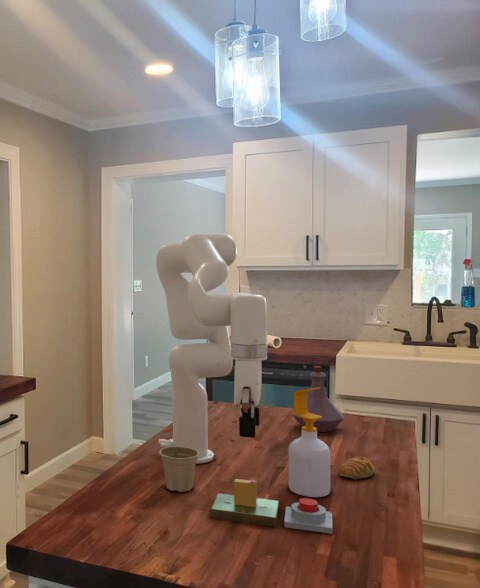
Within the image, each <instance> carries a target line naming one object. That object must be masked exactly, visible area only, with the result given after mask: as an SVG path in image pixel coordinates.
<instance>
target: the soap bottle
mask: <svg viewBox="0 0 480 588" xmlns="http://www.w3.org/2000/svg"><path fill="white" fill-rule="evenodd" d="M315 389H320V387H317V388H311V387H310V388H305V389H299V390H298V389H297V390H296V391H294V393H293V411H294V414H295V416H297V417H300V418H303V421H304V422H305V426H303V427H302V426H301V436H300V437H298V438H295V439H294V440H293V441H292V442H290V444H289V446H288V488H289V490H290V491H291V492H292V493H294V494H296V495H299V496H302V497H305V498H323V497H326V496H328V495H330V492H331V450H330V447H329V445H327V443H325V441H323V440H321V439H319V438H318V431H317V428H316V427H313V422H316V419H322V416H319V415H316V414H312V413H309V412H308V410H307V397H308V394H309V392H310V390H315Z"/></svg>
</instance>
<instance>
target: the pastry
mask: <svg viewBox="0 0 480 588" xmlns="http://www.w3.org/2000/svg"><path fill="white" fill-rule="evenodd" d="M338 471H339V475H340V477H346V478H348V479H353V480H359V479H366V478H369V477H371V476H373V475H374V473H375V472H376V468H375V467H374V465H373V463H372V462H371V460H370V459H369V458H367V457H364V456H354V457H353V458H350V459H349V458H348V459H346V460H345V461H344V462H342V464H340V469H339V470H338Z"/></svg>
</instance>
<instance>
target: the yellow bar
mask: <svg viewBox="0 0 480 588" xmlns="http://www.w3.org/2000/svg"><path fill="white" fill-rule="evenodd" d="M233 495H234V505H242V506H249V507H256V505H257V498H258V481H257V480H256V479H240V478H235V479H234V481H233Z"/></svg>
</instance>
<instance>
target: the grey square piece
mask: <svg viewBox="0 0 480 588" xmlns="http://www.w3.org/2000/svg"><path fill="white" fill-rule="evenodd" d="M283 519H284V520H283V527H284V528H287V529H294V530H295V529H296V530H301V531H310V532H316V533H323V534H329V535H333V530H334V528H333V513H332V512H331V511H327V510H326V508H325V507H324V506H323V505H320V504H318V511H317V512H305V511H302V510H300V509H299V501H297V502H293V503H292V504H291V506H285V513H284V518H283Z"/></svg>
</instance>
